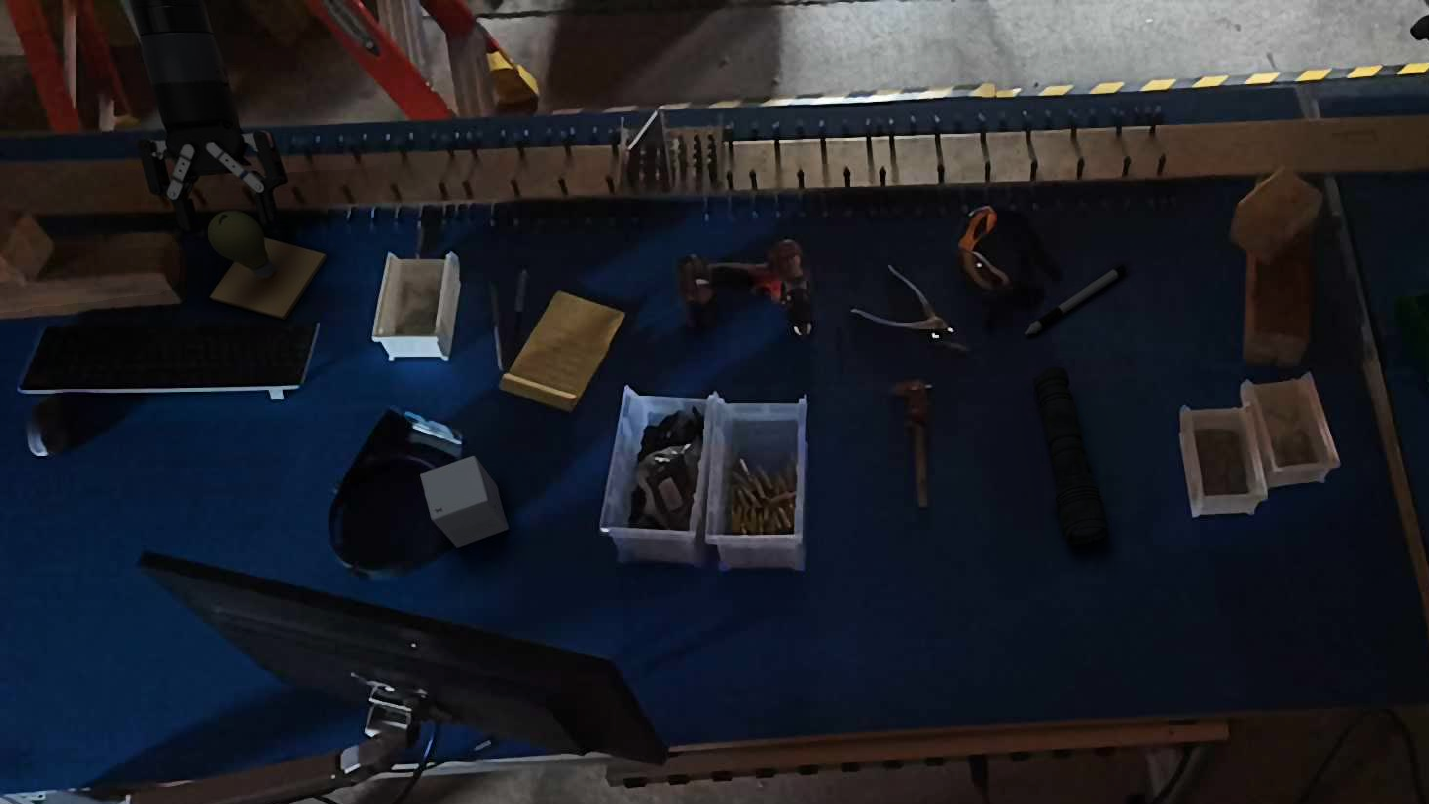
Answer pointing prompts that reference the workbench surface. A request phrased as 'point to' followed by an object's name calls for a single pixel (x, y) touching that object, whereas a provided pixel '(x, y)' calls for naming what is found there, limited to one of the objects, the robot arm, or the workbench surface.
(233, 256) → the light bulb
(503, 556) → the workbench surface
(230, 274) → the mat
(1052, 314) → the pen
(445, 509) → the product box
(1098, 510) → the flashlight
